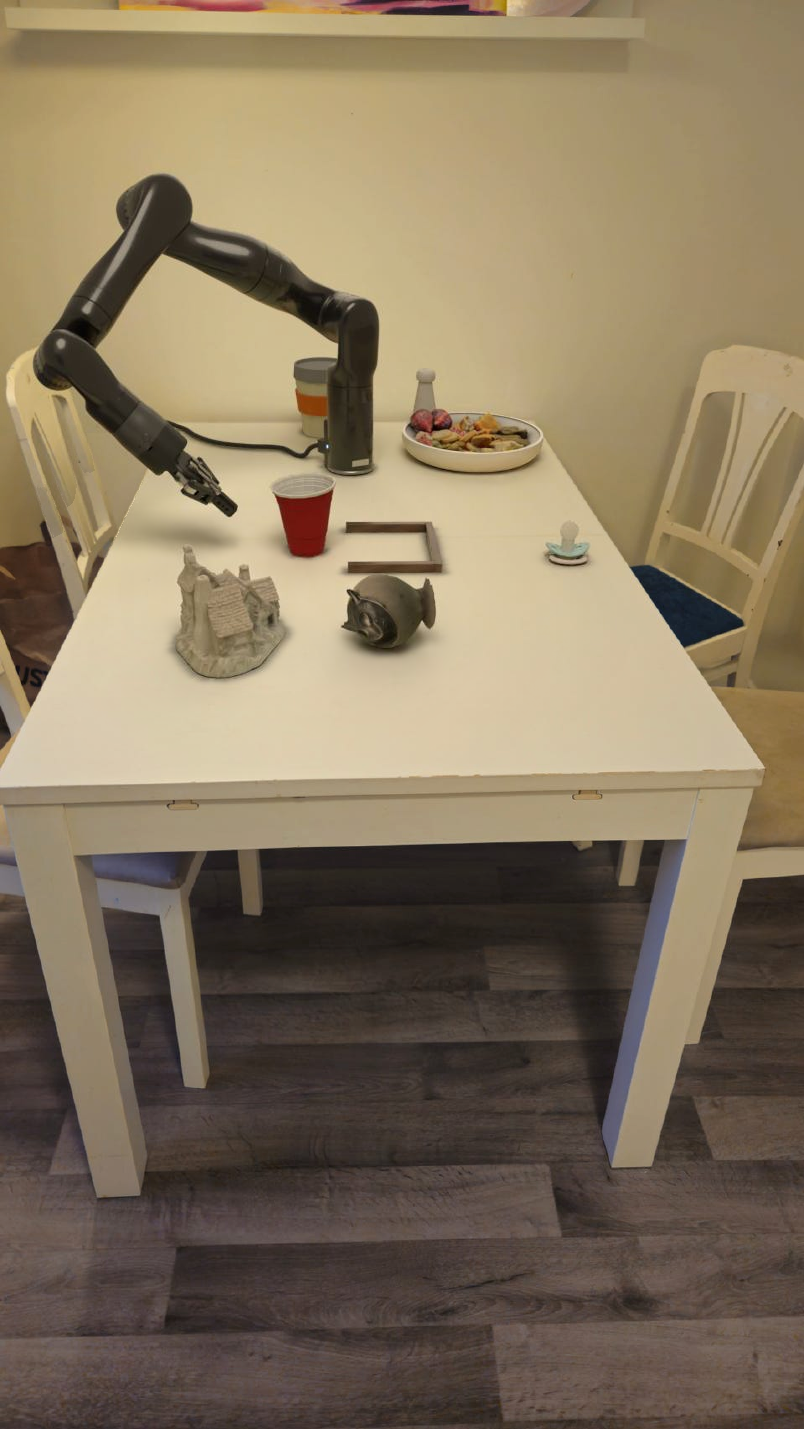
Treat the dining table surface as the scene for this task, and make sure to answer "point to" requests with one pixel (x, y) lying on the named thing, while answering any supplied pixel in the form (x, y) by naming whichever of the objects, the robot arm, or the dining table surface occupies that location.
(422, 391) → the salt shaker
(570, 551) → the pacifier
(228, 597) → the ceramic cottage
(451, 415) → the bowl
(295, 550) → the plastic cup
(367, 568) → the frame
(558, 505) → the dining table surface
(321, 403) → the reusable coffee cup
